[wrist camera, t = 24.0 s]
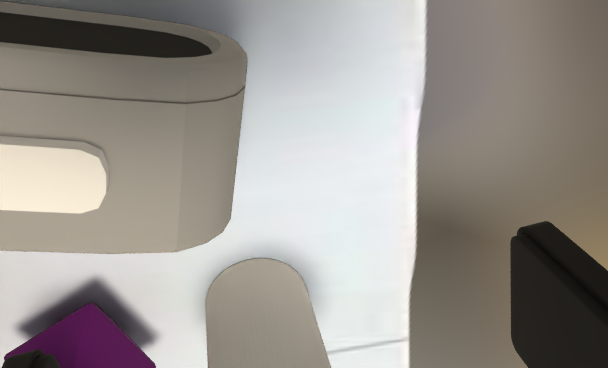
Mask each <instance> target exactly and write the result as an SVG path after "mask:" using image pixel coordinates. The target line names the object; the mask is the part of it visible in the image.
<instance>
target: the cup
mask: <svg viewBox="0 0 608 368" xmlns="http://www.w3.org/2000/svg"><path fill="white" fill-rule="evenodd" d="M205 307H206V332H207V357H208V368H331V366H330V362H329V359H328V356H327V353H326V350H325V346H324V343H323V340H322V337H321V334H320V330H319V327H318V324H317V321H316V318H315V315H314V311H313V308H312V305H311V302H310V299H309V295H308V292H307V289H306V286H305V283H304V281H303V279H302V278H301V276H300V275H299V274H298V273H297V272H296V271H295V270H294V269H293V268H292V267H290V266H289V265H287V264H285V263H283V262H280V261H277V260H273V259H265V258H257V259H249V260H245V261H242V262H239V263H236V264H234V265H232V266H230V267H229V268H227V269H226V270H224V271H223V272H222V273H221V274H219V275H218V276H217V278H216V279H215V280H214V281H213V283H212V284H211V286H210V288H209V290H208V293H207V296H206V302H205Z"/></svg>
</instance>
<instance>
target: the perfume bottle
mask: <svg viewBox="0 0 608 368" xmlns="http://www.w3.org/2000/svg"><path fill="white" fill-rule="evenodd" d="M37 349H39V350H42V351H43V352H44V353H45V355H48V354H53V355H54V356H55V358H56V359H57V361H58V364H59V366H60V368H156V366H155V364H154V362H153V361H152V360H151V359H150V358H149V357H148V356H147V355H146V354H145V353H144V352H143V351H142V350H141V349H140V348H139V347H138V346H137V345H136V344H135V343H134V341H133V340H132V339H131V338H130V337H129V336H128V335H127V334H126V333H125V332H124V331H123V330H122V329H121V328H120V327H119V326H118V325H117V324H116V323H114V322H113V321H112V320H111V319H110V318H109V317H108V316H107V315H106V314H105V313H104V312H103V311H102V310H101V309H100V308H99V307H98V306H97V305H96V304H94V303H88V304H86V305H84V306H83V307H81V308H79V309H78V310H76V311H75V312H73V313H71V314H70V315H68V316H67V317H65V318H63V319H62V320H60V321H59V322H57V323H55V324H54V325H52V326H51V327H49V328H47V329H46V330H44V331H43V332H41V333H39V334H38V335H36V336H35V337H33V338H31V339H30V340H28V341H27V342H25V343H23V344H22V345H20V346H19V347H17V348H15V349H14V350H12V351H11V352H9V353H7V354H6V355H5V357H4V360H6V358H8V357H9V356H13V355H17V354H21V353H25V352H29V351H33V350H37Z"/></svg>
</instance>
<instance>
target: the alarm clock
mask: <svg viewBox="0 0 608 368" xmlns="http://www.w3.org/2000/svg"><path fill="white" fill-rule="evenodd" d="M246 73H247V54H246V52H245V51H244V50H243V48H242V47H241V46H240V45H239V44H238V42H236V41H234V40H233V39H231V38H229V37H227V36H225V35H222V34H219V33H216V32H213V31H210V30H207V29H203V28H198V27H194V26H190V25H185V24H178V23H171V22H164V21H157V20H150V19H143V18H136V17H128V16H120V15H111V14H103V13H95V12H86V11H78V10H70V9H61V8H53V7H45V6H37V5H28V4H20V3H12V2H4V1H0V250H1V251H34V252H66V253H99V254H126V253H161V252H178V251H182V250H185V249H188V248H192V247H195V246H198V245H202V244H205V243H207V242H209V241H210V240H212V239H213V238H215V237H216V236H218V235H219V234H221V233H222V232H223V231H224V229H225V227H226V226H227V224H228V222H229V221H230V219H231V211H232V201H233V192H234V183H235V174H236V165H237V155H238V146H239V137H240V128H241V119H242V110H243V100H244V91H245V82H246Z"/></svg>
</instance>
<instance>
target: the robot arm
mask: <svg viewBox="0 0 608 368" xmlns="http://www.w3.org/2000/svg"><path fill="white" fill-rule="evenodd" d="M511 338H512V342H513V345H514V348H515V350H516V351H517V353H518V355H519V356H520V357H521V359H522V360H523V361H524V362H525V364H526V365H527V367H528V368H608V271H607V270H606V269H605V268H604V267H603V266H601V265H600V264H599V263H598V262H597V261H596V260H594V259H593V258H592V257H591V256H589V255H588V254H587V253H586V252H585V251H583V250H582V249H581V248H580V247H579V246H578V245H577V244H575V243H574V242H573V241H572V240H570V239H569V238H568V237H567V236H566V235H565V234H564V233H562V232H561V231H560V230H559V229H558V228H556V227H555V226H554V225H553V224H552V223H550V222H547V221H544V222H540V223H537V224H533V225H529V226H525V227H521V228H519V230H518V232H517V236H514V237H512V239H511ZM2 368H60V366H59V364H58V361H57V359H56V358H55V356H54V355H53V354H48V355H45V353H44V352H43V351H42V350H39V349H37V350H33V351H29V352H25V353H21V354H17V355H13V356H9V357H8V358H6V360H5V362H4V364H3V366H2Z"/></svg>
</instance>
